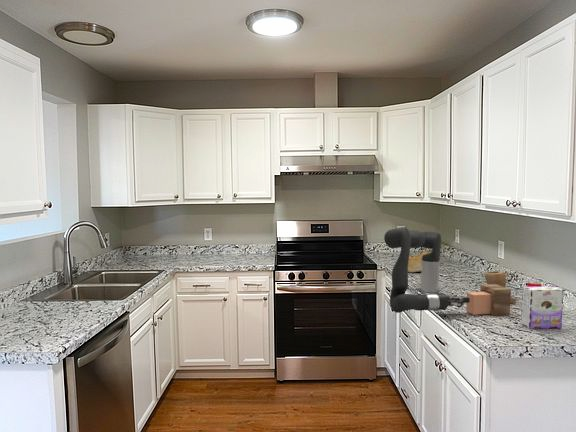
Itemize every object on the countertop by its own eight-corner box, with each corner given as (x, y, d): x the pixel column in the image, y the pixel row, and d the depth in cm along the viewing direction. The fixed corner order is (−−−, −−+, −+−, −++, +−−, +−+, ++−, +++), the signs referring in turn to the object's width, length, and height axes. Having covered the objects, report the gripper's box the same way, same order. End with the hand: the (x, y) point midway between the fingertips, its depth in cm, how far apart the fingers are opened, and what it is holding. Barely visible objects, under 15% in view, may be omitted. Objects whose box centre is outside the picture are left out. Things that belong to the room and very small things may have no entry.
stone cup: (480, 295, 212) (481, 268, 211) (503, 296, 211) (504, 268, 210) (492, 303, 197) (493, 274, 196) (517, 304, 196) (518, 274, 195)
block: (466, 311, 183) (466, 292, 182) (496, 309, 186) (496, 290, 185) (473, 314, 178) (474, 295, 177) (503, 312, 181) (504, 293, 181)
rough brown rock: (430, 270, 281) (429, 249, 281) (436, 273, 264) (435, 251, 265) (396, 270, 283) (396, 250, 284) (400, 273, 267) (400, 251, 267)
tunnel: (479, 309, 187) (480, 284, 186) (494, 308, 189) (495, 283, 188) (494, 316, 177) (495, 289, 177) (509, 315, 179) (511, 289, 178)
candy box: (551, 323, 168) (554, 285, 167) (561, 328, 162) (564, 289, 161) (520, 323, 167) (522, 285, 166) (529, 328, 162) (531, 289, 160)
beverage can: (526, 303, 197) (528, 280, 197) (541, 306, 194) (542, 282, 193) (524, 306, 193) (526, 282, 192) (539, 309, 189) (541, 284, 188)
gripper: (443, 297, 170) (478, 295, 173) (426, 289, 183) (459, 288, 186) (442, 314, 170) (477, 312, 174) (426, 305, 183) (459, 303, 187)
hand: (468, 299), depth 180 cm, fingers closed
